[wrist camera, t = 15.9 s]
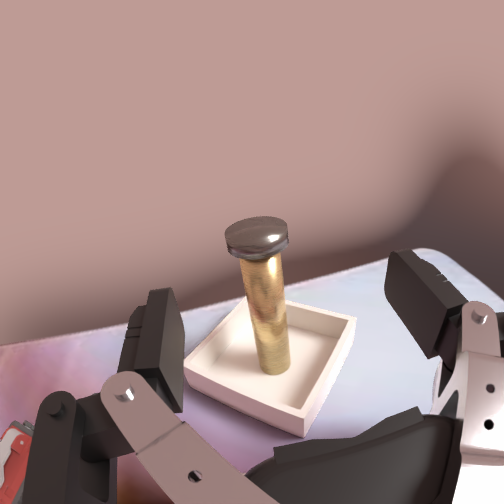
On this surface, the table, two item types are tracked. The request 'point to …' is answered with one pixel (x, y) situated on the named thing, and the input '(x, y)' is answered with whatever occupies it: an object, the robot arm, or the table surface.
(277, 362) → the lock pin
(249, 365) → the parts tray
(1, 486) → the walkie-talkie
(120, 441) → the robot arm
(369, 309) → the table surface
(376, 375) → the table surface
